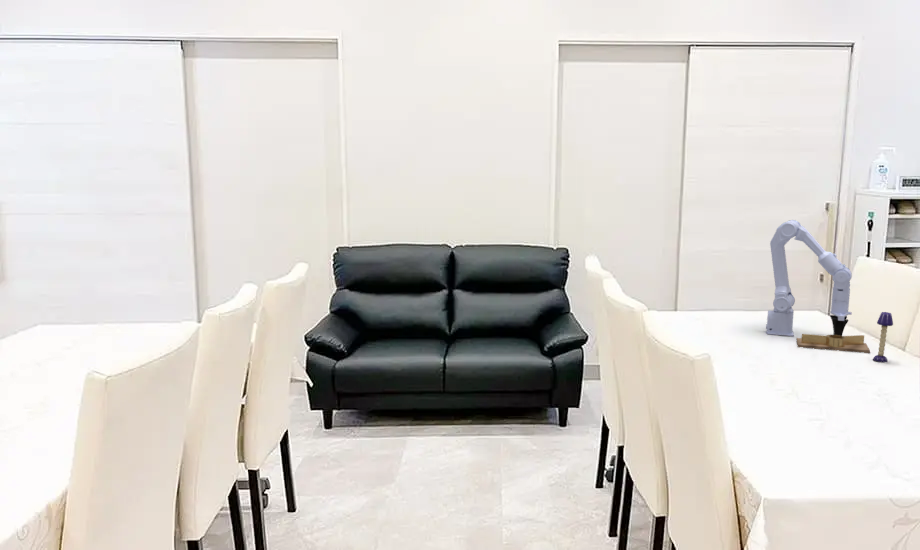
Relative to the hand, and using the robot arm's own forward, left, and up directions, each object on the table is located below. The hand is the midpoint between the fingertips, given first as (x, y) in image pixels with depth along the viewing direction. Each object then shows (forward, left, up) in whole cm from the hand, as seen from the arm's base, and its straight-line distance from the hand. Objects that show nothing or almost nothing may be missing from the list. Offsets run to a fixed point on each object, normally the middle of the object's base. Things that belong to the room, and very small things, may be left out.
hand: (837, 335), depth 274 cm
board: (-3, -11, -2) cm, 12 cm away
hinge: (-3, -12, -1) cm, 12 cm away
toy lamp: (+11, -26, -2) cm, 28 cm away
